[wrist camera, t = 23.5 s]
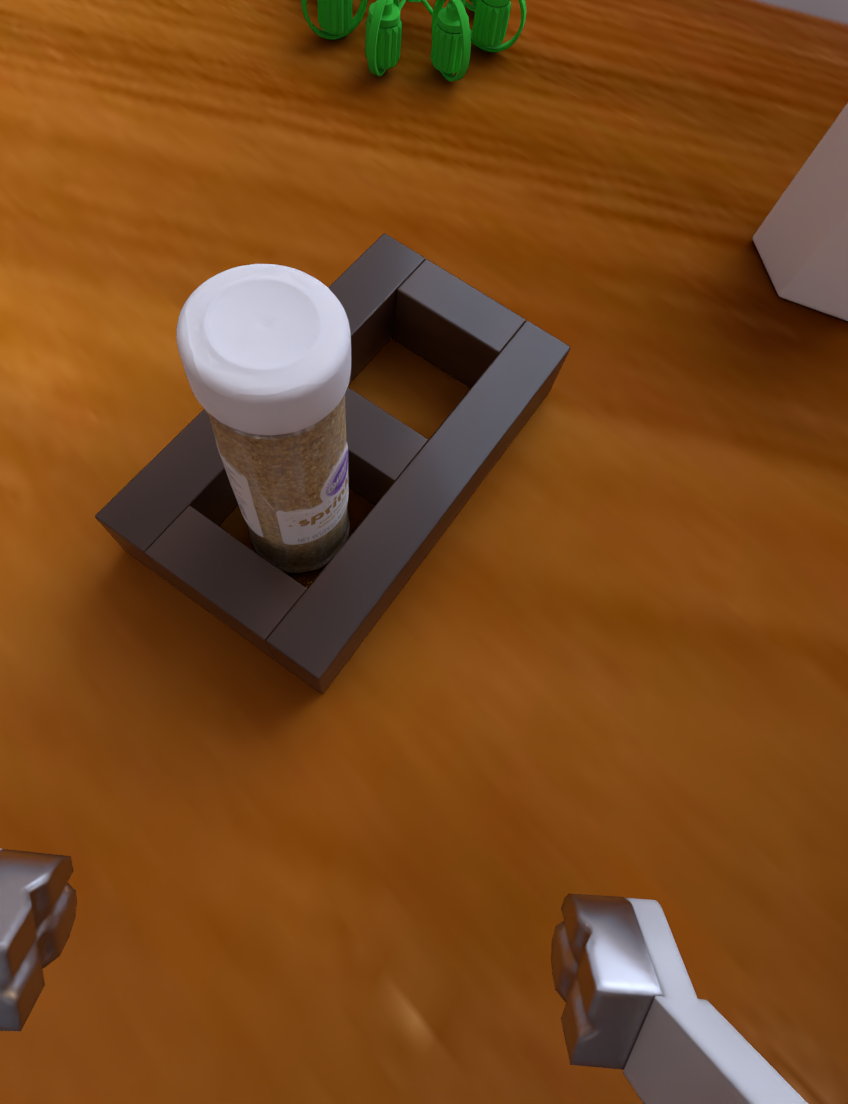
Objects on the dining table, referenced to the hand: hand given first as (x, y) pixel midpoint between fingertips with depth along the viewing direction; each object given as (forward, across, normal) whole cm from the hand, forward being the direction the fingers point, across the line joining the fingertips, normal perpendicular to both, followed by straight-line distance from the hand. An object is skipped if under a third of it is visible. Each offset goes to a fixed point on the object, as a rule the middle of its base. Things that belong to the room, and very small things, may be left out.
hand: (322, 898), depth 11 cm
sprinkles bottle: (+20, +3, +2) cm, 20 cm away
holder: (+22, +1, -1) cm, 22 cm away
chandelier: (+46, +2, -24) cm, 52 cm away
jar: (+35, -25, -13) cm, 45 cm away
